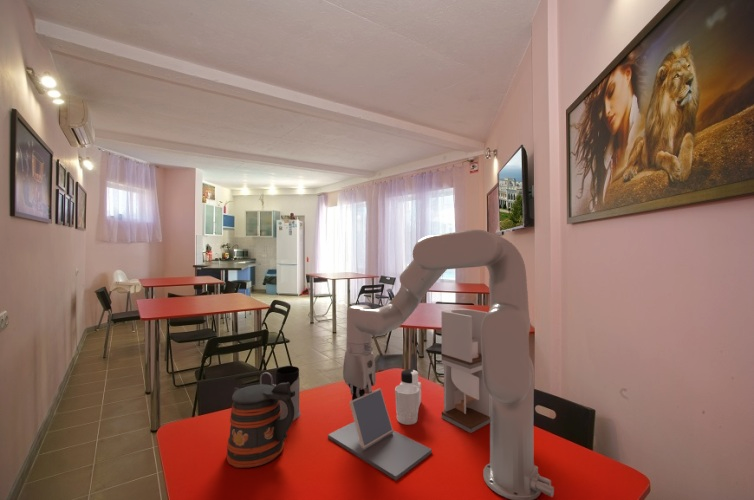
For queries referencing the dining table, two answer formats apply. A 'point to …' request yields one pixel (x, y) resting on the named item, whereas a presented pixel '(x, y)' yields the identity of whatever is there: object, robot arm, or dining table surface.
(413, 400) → the white cup
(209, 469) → the dining table surface
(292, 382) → the glass holder
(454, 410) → the white tiered shelf stand
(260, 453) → the beer stein
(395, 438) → the base
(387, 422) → the tile
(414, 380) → the medicine bottle
